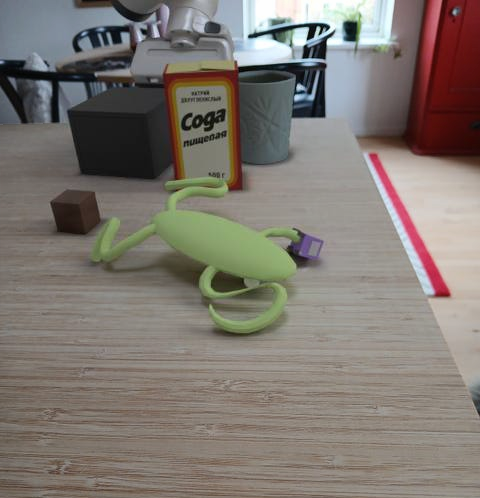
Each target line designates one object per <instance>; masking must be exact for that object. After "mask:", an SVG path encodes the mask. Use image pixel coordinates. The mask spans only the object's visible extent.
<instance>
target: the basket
mask: <svg viewBox="0 0 480 498" xmlns="http://www.w3.org/2000/svg"><path fill="white" fill-rule="evenodd" d="M133 85H134V86H133V87H132V88H164V82H136V81H135V82H134V83H133Z"/></svg>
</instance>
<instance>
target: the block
mask: <svg viewBox="0 0 480 498" xmlns="http://www.w3.org/2000/svg"><path fill="white" fill-rule="evenodd" d="M49 204H50V208H51V212H52V215H53V219H54V222H55V226H56V230H57V232H61V233H69V234H70V233H71V234H80V235H81V234H82V235H87V234H88V233H89V232H90V231H91V230H92V229H94V227H96V226H97V225H98V224H99V223H100V222H101V214H100V209H99V205H98V200H97V195H96V192H95V190H94V191H92V190H80V189H70V188H69V189H68V188H66V189H65V190H64V191H62V192H61V193H60V194H59V195H57V196H56V197H54V198H52V200H50V201H49Z"/></svg>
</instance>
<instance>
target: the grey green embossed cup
mask: <svg viewBox="0 0 480 498" xmlns="http://www.w3.org/2000/svg"><path fill="white" fill-rule="evenodd" d="M296 79H297V77H296V74H295V73H291V72H288V71H282V70H281V71H280V70H265V69H264V70H250V71H243V72H239V101H240V130H241V159H242V162H243V163H246V164H252V165H269V164H270V165H271V164H277V163H279V162H282V161H284V160H286V159H287V158H288V156H289V152H290V137H291V129H292V119H293V117H292V116H293V103H294V97H295V87H296Z"/></svg>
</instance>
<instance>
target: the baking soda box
mask: <svg viewBox="0 0 480 498" xmlns="http://www.w3.org/2000/svg"><path fill="white" fill-rule="evenodd" d="M239 73H240V72H239V65H238V60H237V59H236V60H226V61H201V62H191V63H169V64H167V65H166V67H165V69H164V72H163V81H164V90H165V98H166V107H167V116H168V124H169V133H170V142H171V150H172V159H173V162H172V166H173V176H174V181H176V180H184V179H192V178H201V177H215V178H219V179H221V180H223V181H225V182H226V184H227V186H228V191H236V190H237V191H240V190H243V164H242V162H243V161H242V159H241V130H240V101H239ZM199 187H206V188H215V189H216V188H217V187H212V186H199ZM182 189H184V188H182ZM182 189H175V192H177V191H179V190H182Z"/></svg>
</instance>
